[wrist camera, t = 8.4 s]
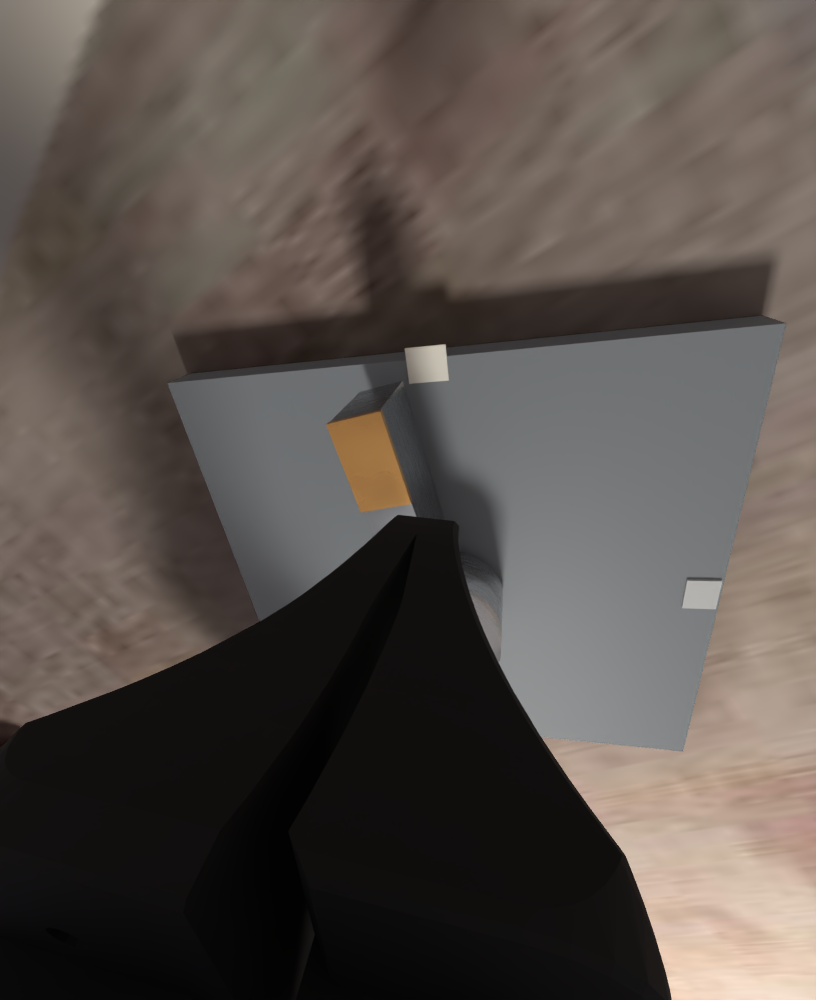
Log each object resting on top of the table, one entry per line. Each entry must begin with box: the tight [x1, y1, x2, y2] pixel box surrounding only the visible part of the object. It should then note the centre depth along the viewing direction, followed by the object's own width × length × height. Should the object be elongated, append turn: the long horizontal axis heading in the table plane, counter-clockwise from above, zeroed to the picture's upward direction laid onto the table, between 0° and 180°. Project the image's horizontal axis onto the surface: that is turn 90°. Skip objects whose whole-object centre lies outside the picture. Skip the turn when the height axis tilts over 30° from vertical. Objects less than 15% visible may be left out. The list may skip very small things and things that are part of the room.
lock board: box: [167, 316, 786, 751], centre depth 21 cm, size 20×21×2 cm
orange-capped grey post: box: [326, 381, 503, 663], centre depth 17 cm, size 4×12×4 cm, turn 17°
